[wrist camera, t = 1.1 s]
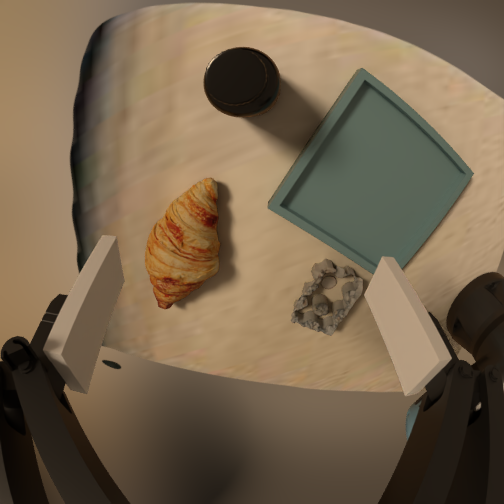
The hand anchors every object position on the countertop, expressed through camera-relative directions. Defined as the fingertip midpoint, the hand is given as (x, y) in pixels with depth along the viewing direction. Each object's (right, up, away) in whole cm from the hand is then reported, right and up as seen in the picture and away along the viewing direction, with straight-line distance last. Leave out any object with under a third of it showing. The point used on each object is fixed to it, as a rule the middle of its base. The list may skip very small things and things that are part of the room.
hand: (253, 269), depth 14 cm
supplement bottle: (0, +20, +16) cm, 25 cm away
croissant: (-9, +2, +26) cm, 28 cm away
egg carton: (+11, -5, +28) cm, 30 cm away
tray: (+16, +10, +19) cm, 26 cm away
